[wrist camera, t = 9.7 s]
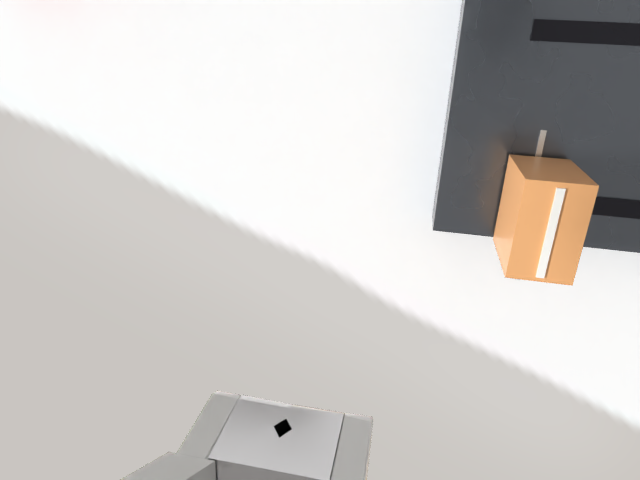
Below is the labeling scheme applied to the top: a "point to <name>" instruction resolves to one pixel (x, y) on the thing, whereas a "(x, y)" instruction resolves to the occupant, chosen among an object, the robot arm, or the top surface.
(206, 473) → the robot arm
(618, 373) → the top surface
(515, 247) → the fader
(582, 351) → the top surface
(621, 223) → the console
